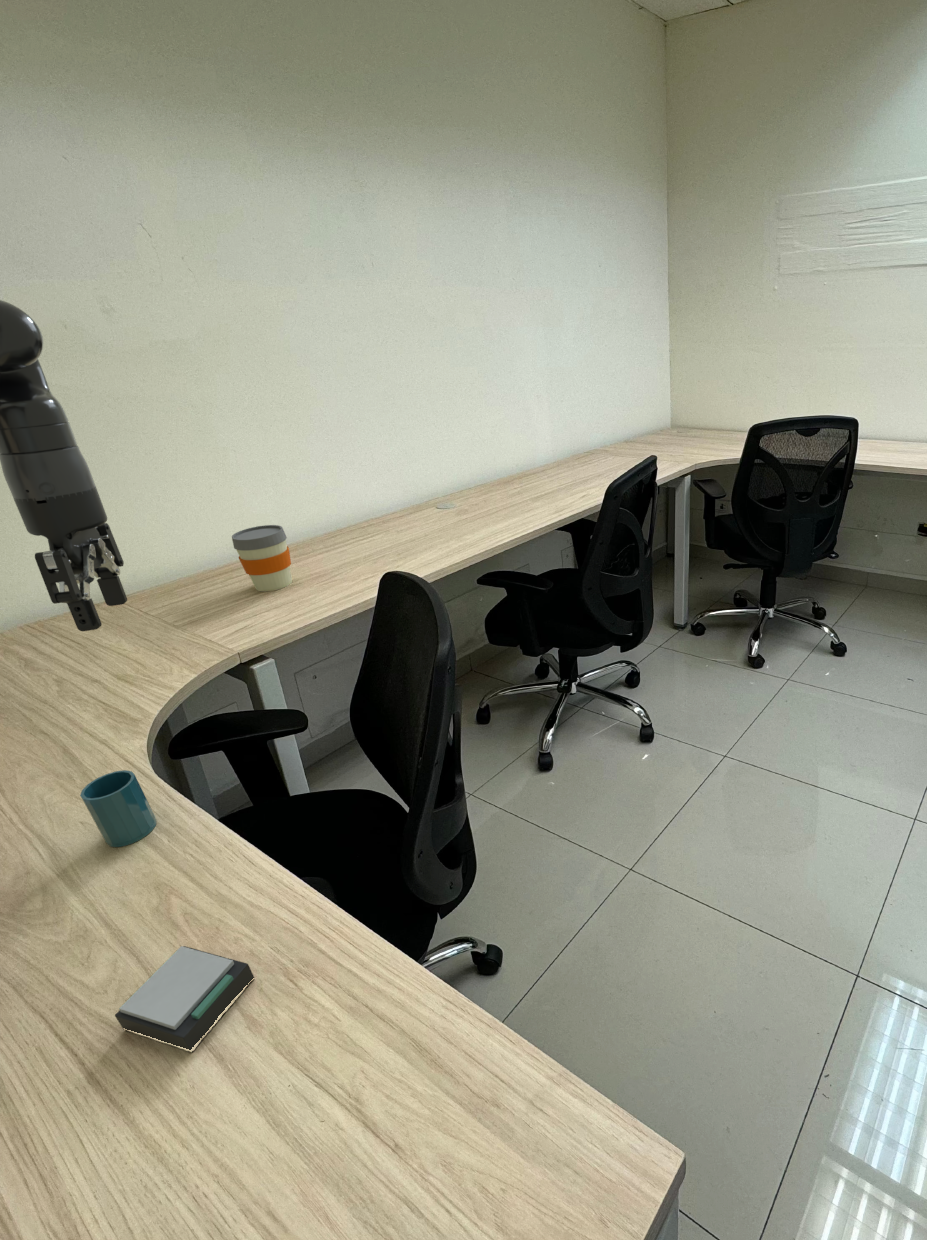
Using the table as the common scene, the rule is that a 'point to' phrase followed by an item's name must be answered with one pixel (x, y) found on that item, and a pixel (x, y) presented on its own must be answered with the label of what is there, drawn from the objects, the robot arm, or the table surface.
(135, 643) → the table surface
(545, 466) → the table surface
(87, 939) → the table surface
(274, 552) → the reusable coffee cup
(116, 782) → the ceramic cup
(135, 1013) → the scale
